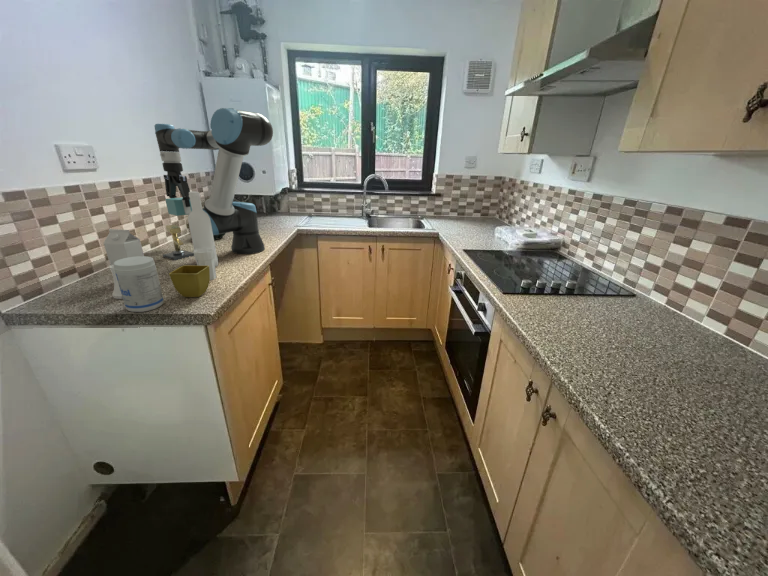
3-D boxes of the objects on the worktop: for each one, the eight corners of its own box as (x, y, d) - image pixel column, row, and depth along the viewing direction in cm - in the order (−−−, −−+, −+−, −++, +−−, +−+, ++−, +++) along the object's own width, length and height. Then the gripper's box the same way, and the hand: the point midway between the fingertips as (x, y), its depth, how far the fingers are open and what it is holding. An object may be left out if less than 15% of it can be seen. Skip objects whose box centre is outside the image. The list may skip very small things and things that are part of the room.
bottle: (218, 262, 137) (206, 190, 126) (218, 267, 131) (205, 192, 119) (197, 264, 134) (182, 191, 123) (196, 270, 127) (180, 193, 116)
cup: (209, 274, 123) (203, 247, 119) (222, 276, 121) (217, 249, 117) (194, 279, 118) (188, 251, 113) (208, 282, 116) (202, 253, 111)
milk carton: (132, 277, 118) (117, 227, 110) (150, 278, 117) (137, 227, 110) (116, 284, 111) (99, 231, 104) (135, 285, 111) (120, 232, 104)
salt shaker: (107, 296, 102) (97, 266, 98) (132, 288, 109) (124, 260, 105) (121, 300, 100) (112, 270, 96) (146, 292, 106) (138, 264, 102)
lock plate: (195, 255, 145) (194, 250, 144) (175, 260, 138) (174, 255, 137) (183, 252, 149) (181, 247, 148) (163, 257, 142) (162, 251, 141)
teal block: (196, 213, 153) (193, 198, 151) (177, 215, 146) (174, 200, 144) (187, 211, 157) (185, 197, 155) (168, 213, 150) (165, 198, 148)
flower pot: (188, 289, 109) (182, 264, 106) (214, 289, 110) (209, 265, 106) (174, 300, 101) (167, 273, 98) (202, 300, 102) (197, 273, 98)
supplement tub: (118, 309, 94) (103, 262, 88) (150, 297, 102) (138, 254, 96) (141, 315, 91) (127, 267, 85) (172, 303, 99) (161, 258, 93)
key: (180, 247, 147) (175, 224, 143) (188, 254, 137) (183, 230, 133) (170, 249, 144) (165, 225, 140) (177, 256, 134) (172, 231, 130)
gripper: (149, 161, 144) (161, 211, 153) (177, 163, 135) (188, 216, 144) (166, 161, 150) (176, 209, 159) (194, 163, 142) (203, 214, 150)
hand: (182, 212), depth 152 cm, fingers closed on teal block, 8 cm apart
